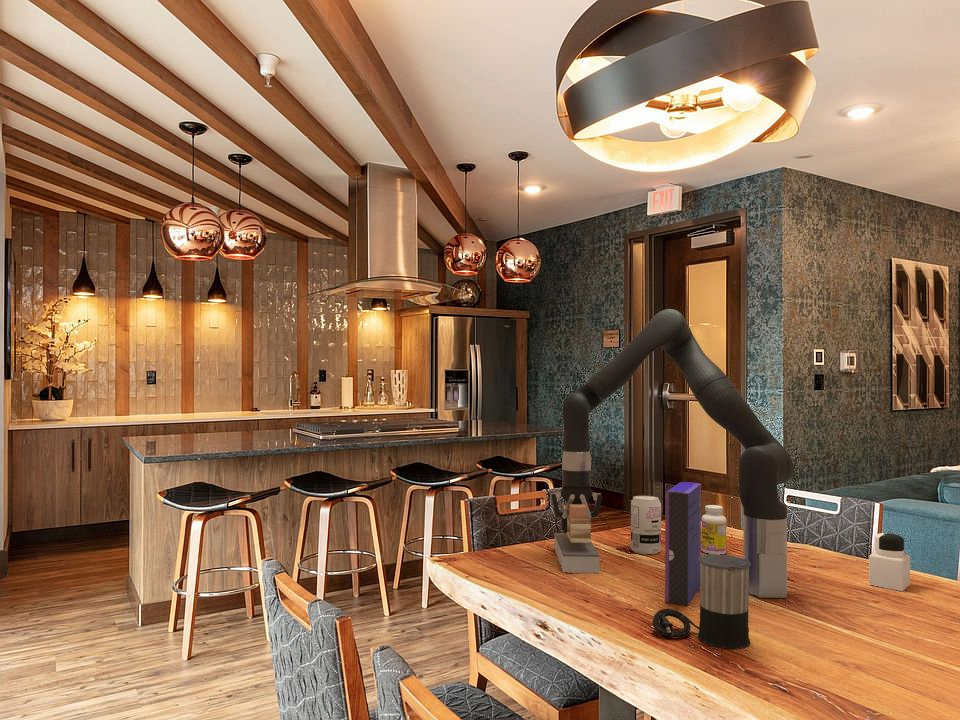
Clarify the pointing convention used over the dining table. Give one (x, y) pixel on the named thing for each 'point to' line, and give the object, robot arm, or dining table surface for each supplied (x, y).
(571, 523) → the pallet
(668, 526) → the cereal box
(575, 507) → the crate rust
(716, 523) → the supplement bottle
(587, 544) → the dock
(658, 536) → the supplement can
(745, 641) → the milk frother
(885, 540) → the white plastic bottle
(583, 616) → the dining table surface
